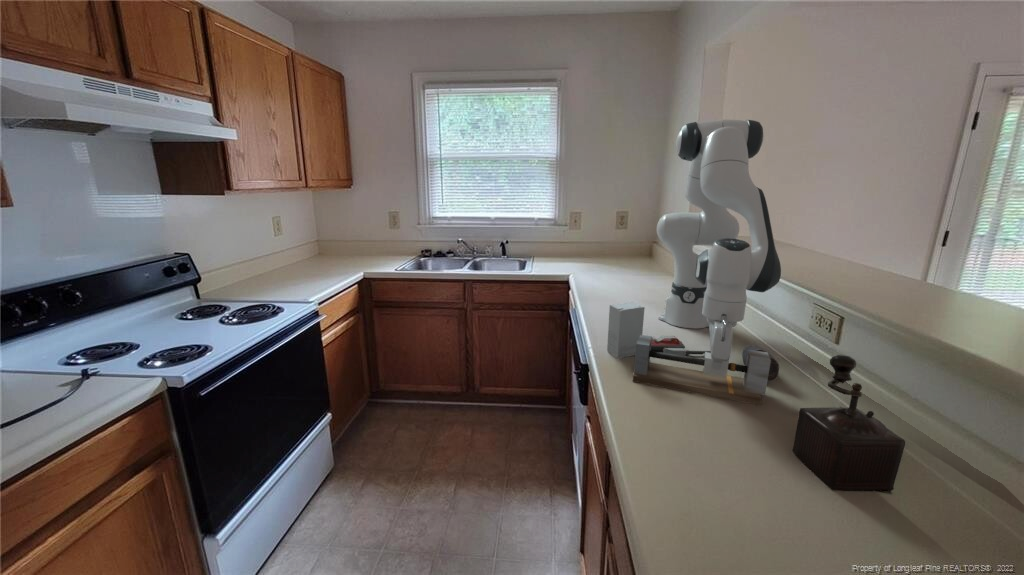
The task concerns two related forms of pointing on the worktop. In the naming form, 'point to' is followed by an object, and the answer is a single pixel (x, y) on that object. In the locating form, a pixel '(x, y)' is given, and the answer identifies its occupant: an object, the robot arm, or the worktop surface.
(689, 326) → the robot arm
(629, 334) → the skincare box
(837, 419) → the manual coffee grinder
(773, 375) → the perforated stone tool
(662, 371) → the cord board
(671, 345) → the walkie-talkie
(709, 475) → the worktop surface
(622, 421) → the worktop surface
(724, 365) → the sleeve
